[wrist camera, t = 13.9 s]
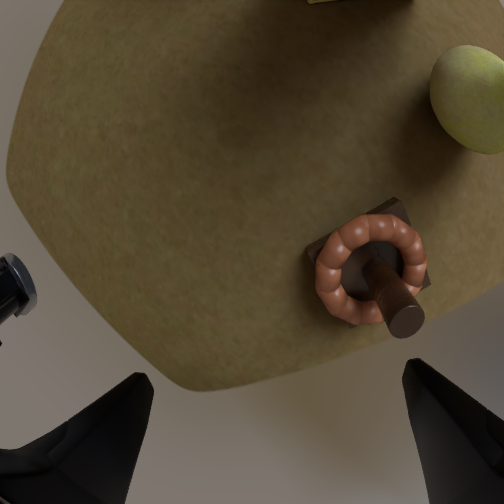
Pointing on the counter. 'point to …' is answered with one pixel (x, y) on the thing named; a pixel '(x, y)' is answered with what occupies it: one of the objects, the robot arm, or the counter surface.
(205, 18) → the counter surface
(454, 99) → the fruit
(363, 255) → the post
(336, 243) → the ring
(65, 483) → the robot arm
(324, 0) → the candy box
